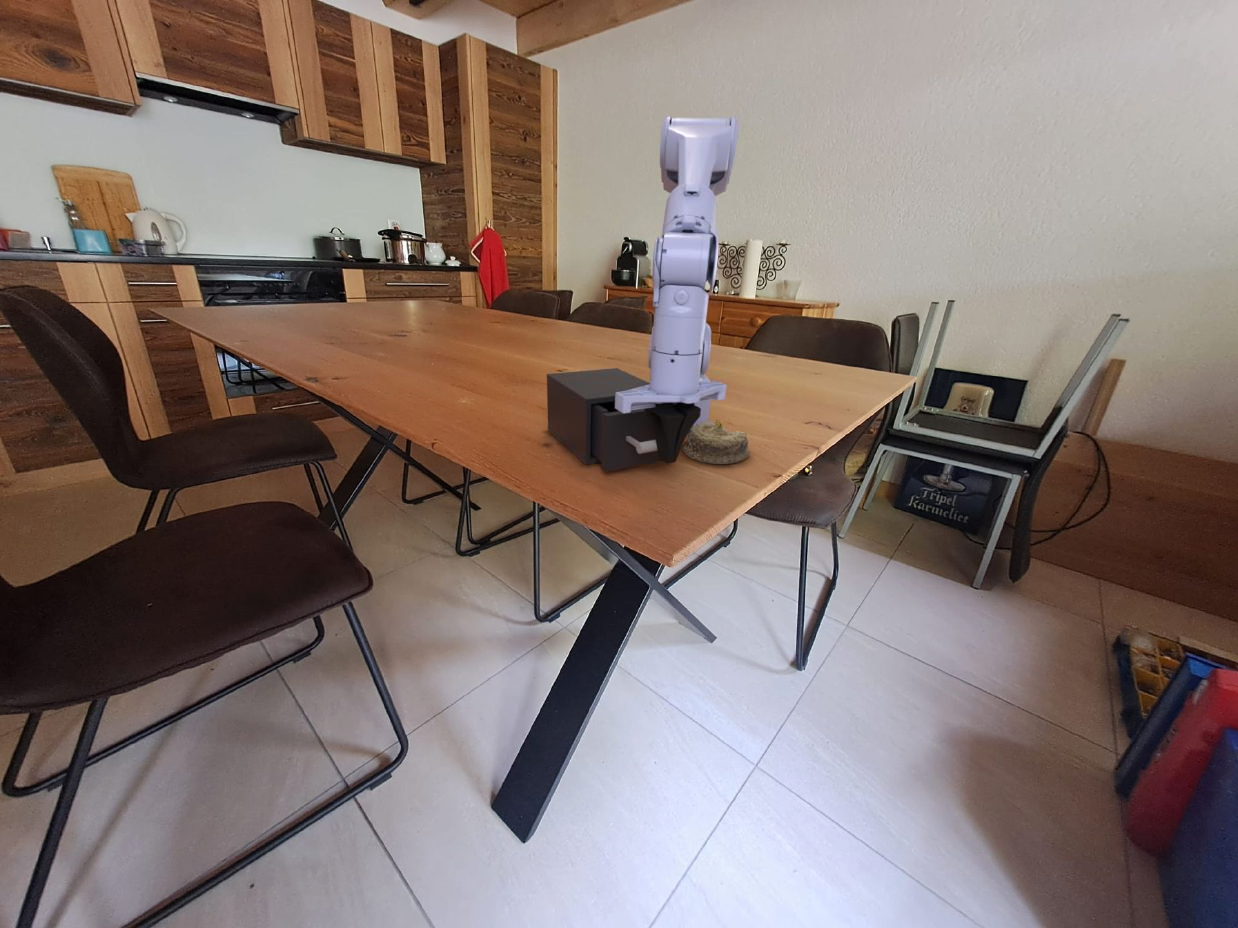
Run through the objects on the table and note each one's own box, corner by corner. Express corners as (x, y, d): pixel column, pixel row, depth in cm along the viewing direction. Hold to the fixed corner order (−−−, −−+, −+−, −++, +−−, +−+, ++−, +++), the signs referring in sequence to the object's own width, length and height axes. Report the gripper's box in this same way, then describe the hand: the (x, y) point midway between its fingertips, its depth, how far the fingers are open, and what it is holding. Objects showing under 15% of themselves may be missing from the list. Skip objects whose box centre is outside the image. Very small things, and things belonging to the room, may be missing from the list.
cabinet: (660, 451, 72) (665, 390, 68) (585, 465, 66) (586, 399, 62) (615, 421, 83) (617, 368, 79) (547, 431, 78) (546, 373, 74)
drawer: (694, 470, 64) (700, 415, 61) (620, 486, 59) (623, 427, 55) (629, 428, 78) (631, 382, 75) (565, 438, 73) (564, 388, 69)
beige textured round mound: (728, 475, 66) (731, 440, 64) (670, 456, 72) (671, 423, 69) (760, 450, 73) (764, 418, 70) (704, 435, 79) (706, 404, 76)
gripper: (640, 362, 47) (633, 484, 52) (749, 353, 53) (733, 462, 59) (607, 349, 52) (604, 460, 58) (710, 342, 59) (698, 443, 65)
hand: (667, 460), depth 59 cm, fingers closed, pressing on drawer
